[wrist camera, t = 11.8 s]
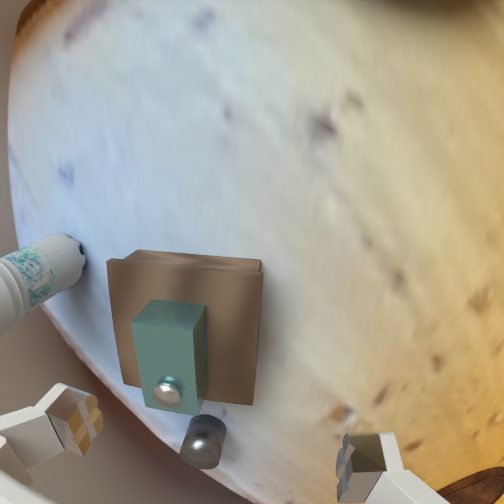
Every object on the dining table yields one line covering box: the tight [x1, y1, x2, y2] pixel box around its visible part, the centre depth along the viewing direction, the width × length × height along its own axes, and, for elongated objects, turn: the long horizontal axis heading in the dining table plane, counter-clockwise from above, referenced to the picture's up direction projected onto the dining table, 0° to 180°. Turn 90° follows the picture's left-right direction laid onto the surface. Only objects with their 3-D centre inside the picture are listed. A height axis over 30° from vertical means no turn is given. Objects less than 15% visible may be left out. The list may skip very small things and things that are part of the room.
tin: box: [179, 414, 226, 469], centre depth 36 cm, size 5×5×6 cm
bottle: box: [0, 233, 86, 336], centre depth 25 cm, size 7×7×20 cm
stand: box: [106, 250, 263, 405], centre depth 31 cm, size 14×14×6 cm
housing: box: [131, 299, 209, 416], centre depth 26 cm, size 5×9×5 cm, turn 178°
